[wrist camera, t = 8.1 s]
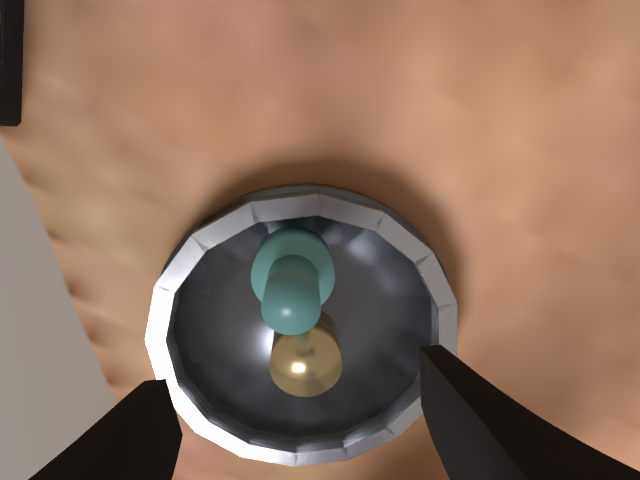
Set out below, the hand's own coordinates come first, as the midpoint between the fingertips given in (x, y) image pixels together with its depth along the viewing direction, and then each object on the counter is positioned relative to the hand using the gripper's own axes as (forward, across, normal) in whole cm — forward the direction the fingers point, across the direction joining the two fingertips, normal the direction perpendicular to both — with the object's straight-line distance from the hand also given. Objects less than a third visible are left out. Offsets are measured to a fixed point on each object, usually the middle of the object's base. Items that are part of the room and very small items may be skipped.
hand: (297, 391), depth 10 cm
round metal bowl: (+10, 0, +4) cm, 11 cm away
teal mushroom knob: (+10, 0, 0) cm, 10 cm away
